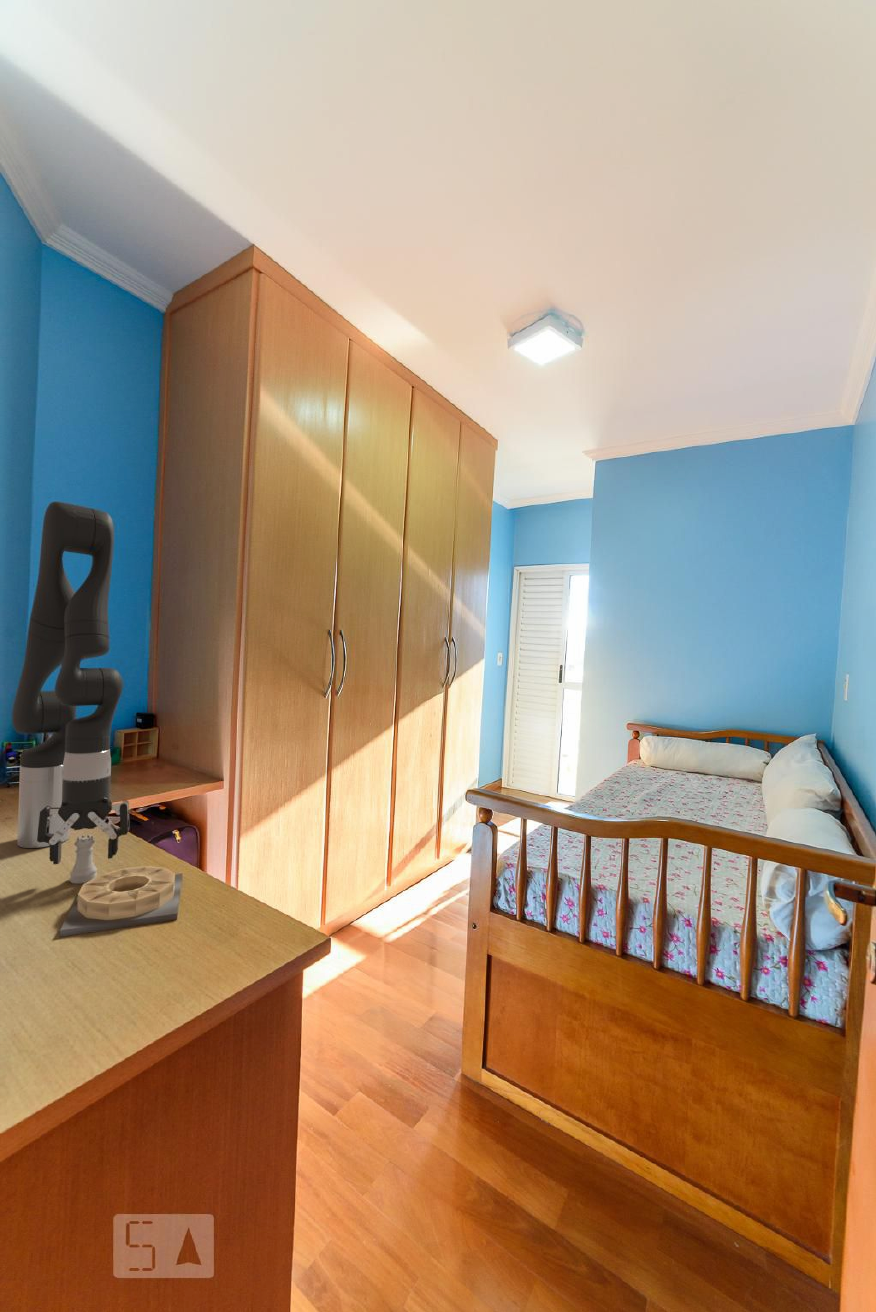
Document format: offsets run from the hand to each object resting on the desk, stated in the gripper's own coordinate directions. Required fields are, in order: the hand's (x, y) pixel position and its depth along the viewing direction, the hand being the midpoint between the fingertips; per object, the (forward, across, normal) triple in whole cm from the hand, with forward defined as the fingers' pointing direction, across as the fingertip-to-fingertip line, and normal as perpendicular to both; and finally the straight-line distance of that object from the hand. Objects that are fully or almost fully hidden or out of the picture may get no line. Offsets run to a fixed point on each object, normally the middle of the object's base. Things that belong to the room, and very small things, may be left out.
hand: (84, 860), depth 98 cm
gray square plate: (+4, -9, +13) cm, 16 cm away
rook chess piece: (+4, 0, 0) cm, 4 cm away
